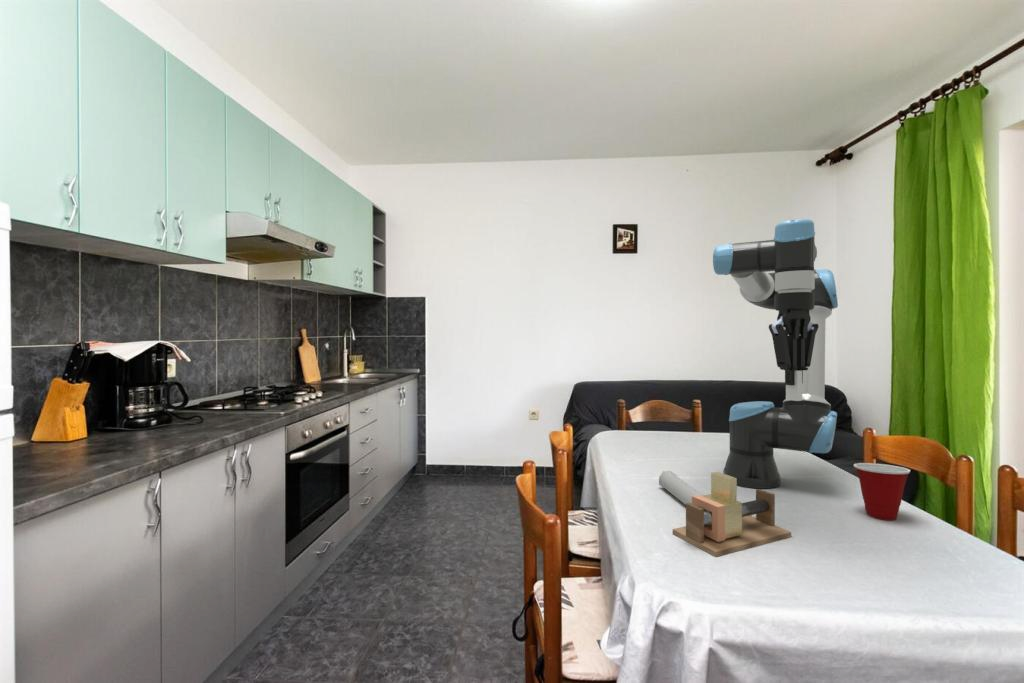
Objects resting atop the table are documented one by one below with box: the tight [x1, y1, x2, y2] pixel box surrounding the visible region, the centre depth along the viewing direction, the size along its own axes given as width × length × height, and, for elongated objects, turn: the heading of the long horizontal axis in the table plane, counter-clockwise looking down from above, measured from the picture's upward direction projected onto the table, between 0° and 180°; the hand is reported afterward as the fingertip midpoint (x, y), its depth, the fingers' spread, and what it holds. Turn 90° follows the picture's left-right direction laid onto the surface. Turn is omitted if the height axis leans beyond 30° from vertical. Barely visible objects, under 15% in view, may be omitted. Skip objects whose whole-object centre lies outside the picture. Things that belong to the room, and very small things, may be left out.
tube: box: [658, 470, 704, 506], centre depth 124 cm, size 5×5×25 cm
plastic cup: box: [853, 462, 911, 521], centre depth 115 cm, size 11×11×12 cm
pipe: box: [704, 499, 769, 526], centre depth 105 cm, size 21×3×3 cm, turn 114°
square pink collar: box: [692, 495, 725, 542], centre depth 102 cm, size 2×7×7 cm, turn 24°
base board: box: [672, 488, 792, 558], centre depth 105 cm, size 22×12×8 cm, turn 114°
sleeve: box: [702, 471, 743, 539], centre depth 103 cm, size 5×7×12 cm
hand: (793, 399), depth 105 cm, fingers closed
